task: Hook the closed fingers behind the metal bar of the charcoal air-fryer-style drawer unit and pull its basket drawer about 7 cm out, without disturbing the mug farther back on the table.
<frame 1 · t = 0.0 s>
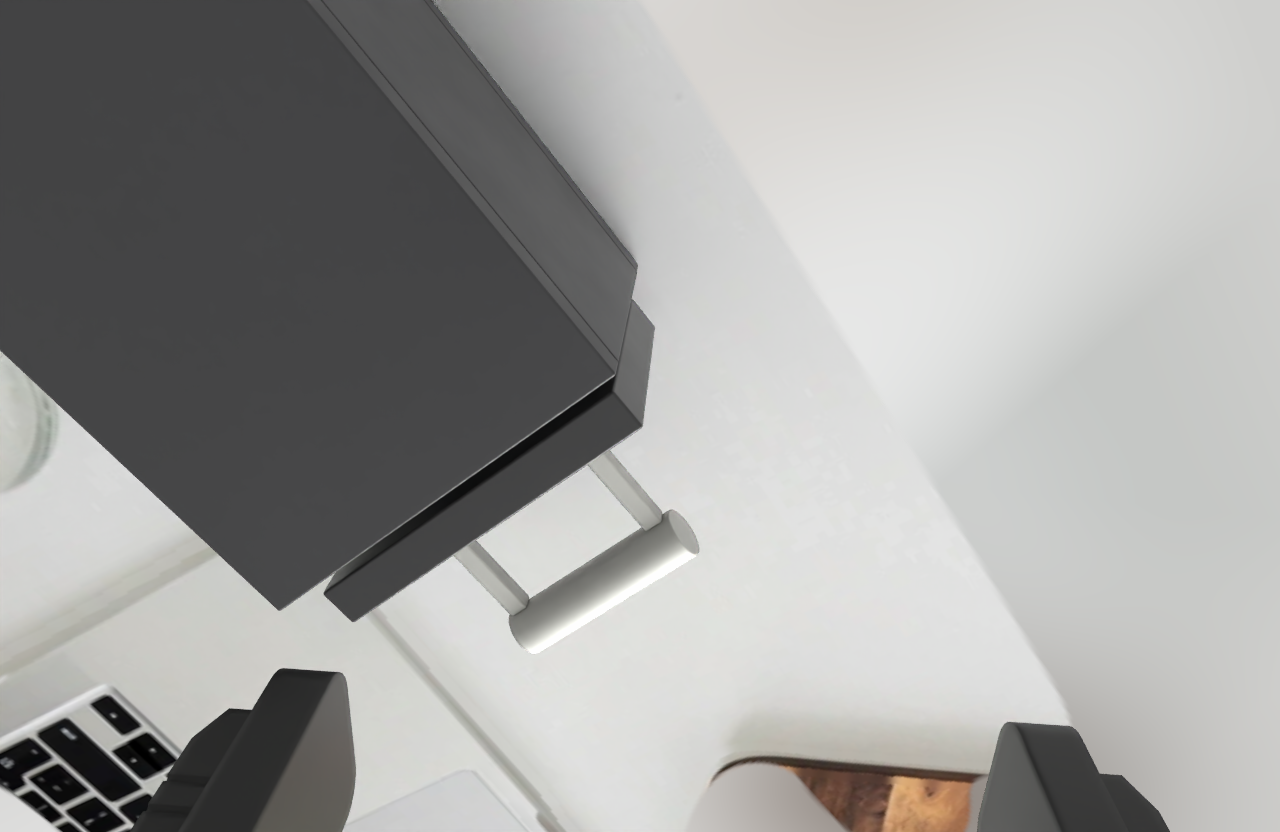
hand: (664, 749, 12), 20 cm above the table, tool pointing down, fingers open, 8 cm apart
basket: (426, 368, 27), point 5 cm above the table, slide at 0.5 cm
fryer: (359, 197, 30), on the table
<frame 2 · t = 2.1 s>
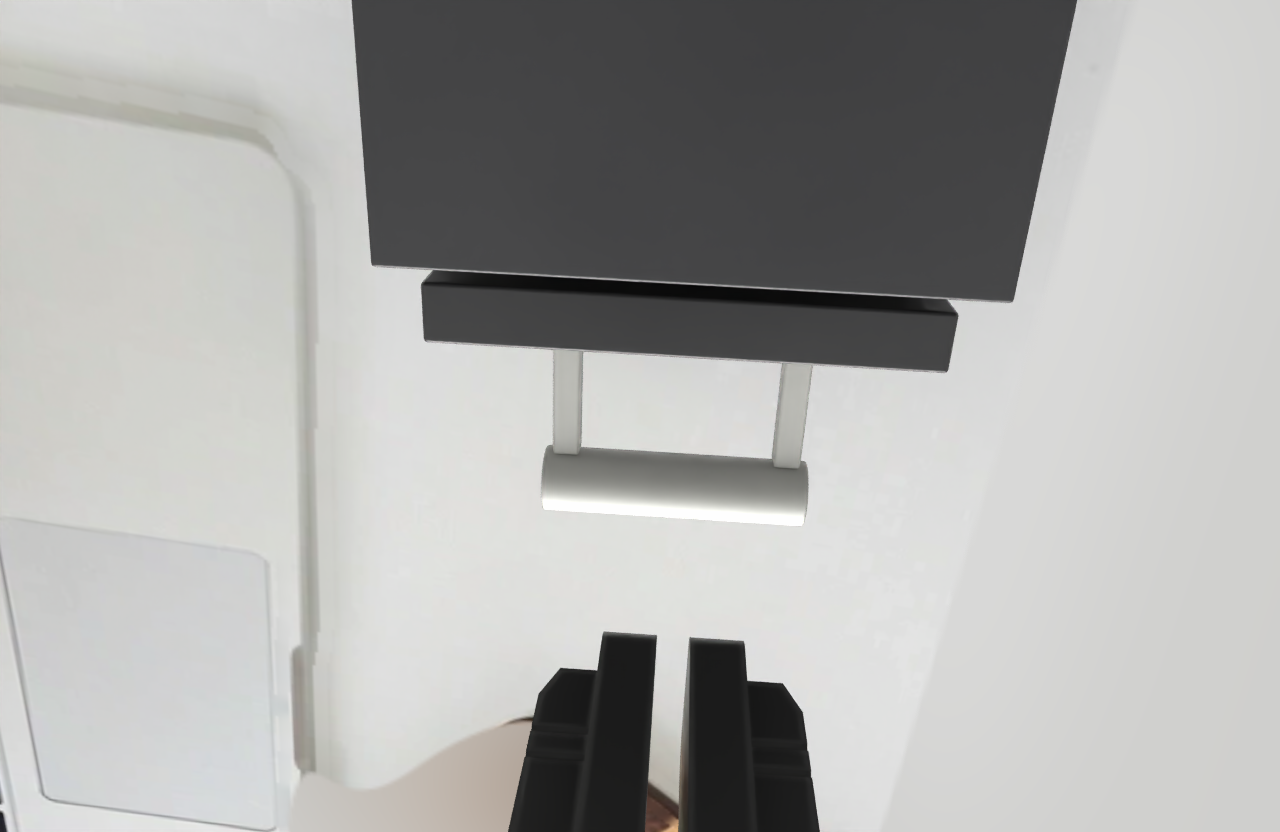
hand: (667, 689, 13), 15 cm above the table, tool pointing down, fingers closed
basket: (697, 124, 20), point 5 cm above the table, slide at 0.5 cm
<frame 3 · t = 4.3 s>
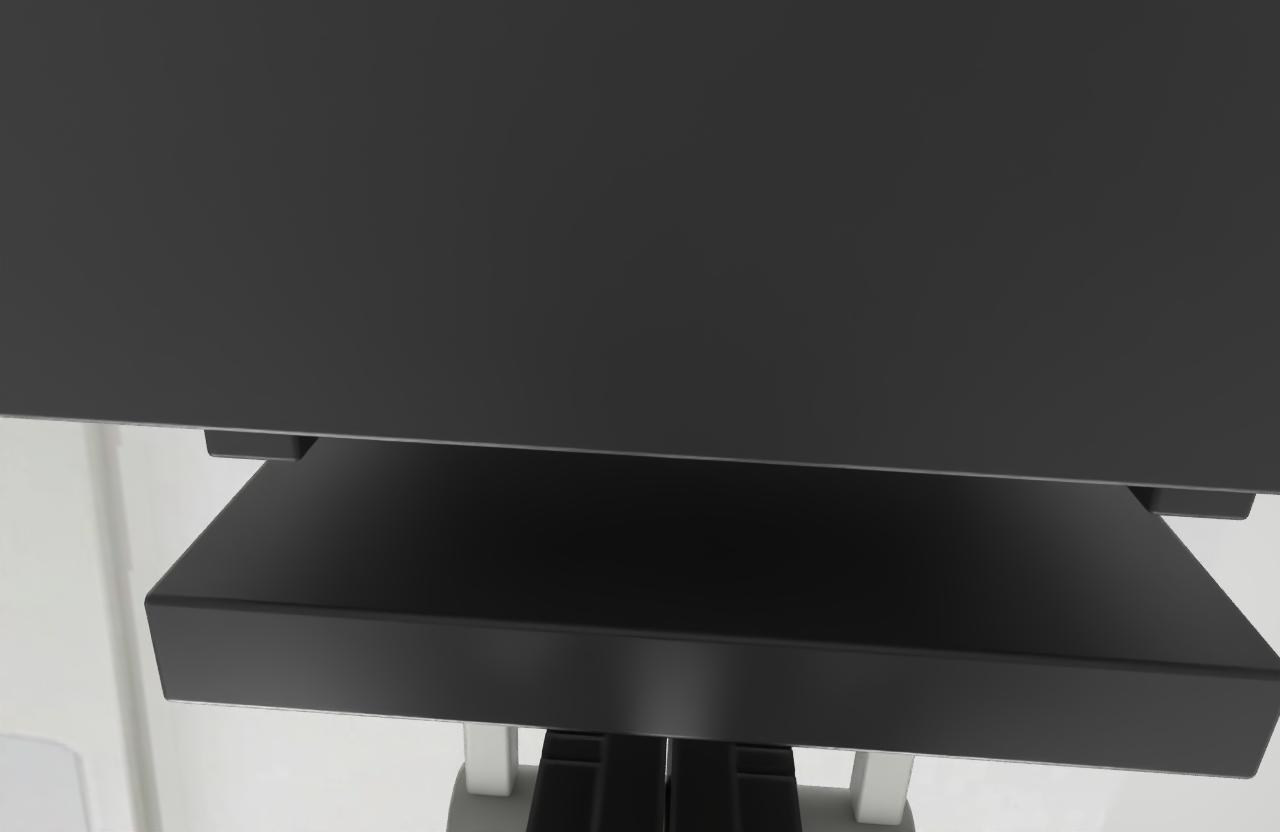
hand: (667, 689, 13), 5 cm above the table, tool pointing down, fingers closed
basket: (721, 233, 10), point 5 cm above the table, slide at 2.1 cm, touching gripper
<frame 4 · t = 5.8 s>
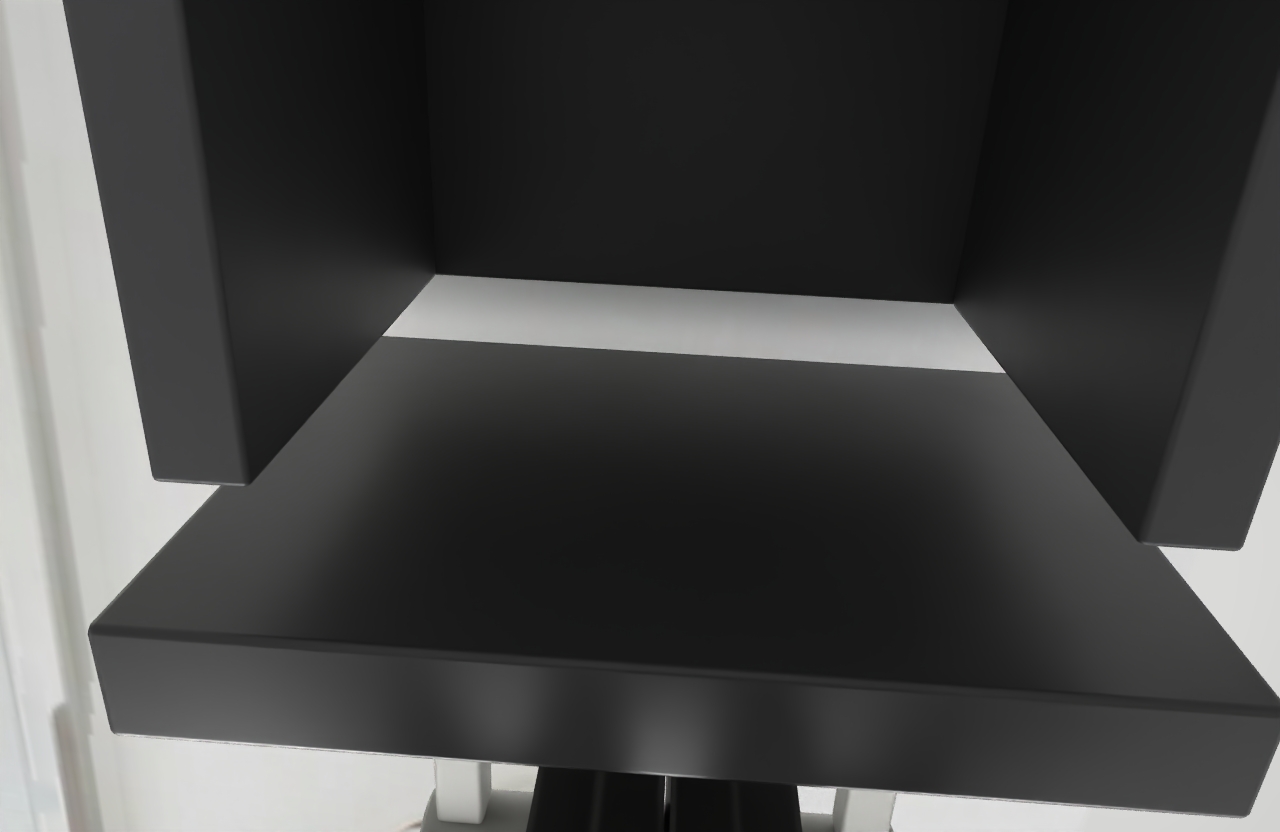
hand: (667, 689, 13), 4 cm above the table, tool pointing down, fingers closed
basket: (698, 245, 10), point 5 cm above the table, slide at 7.2 cm
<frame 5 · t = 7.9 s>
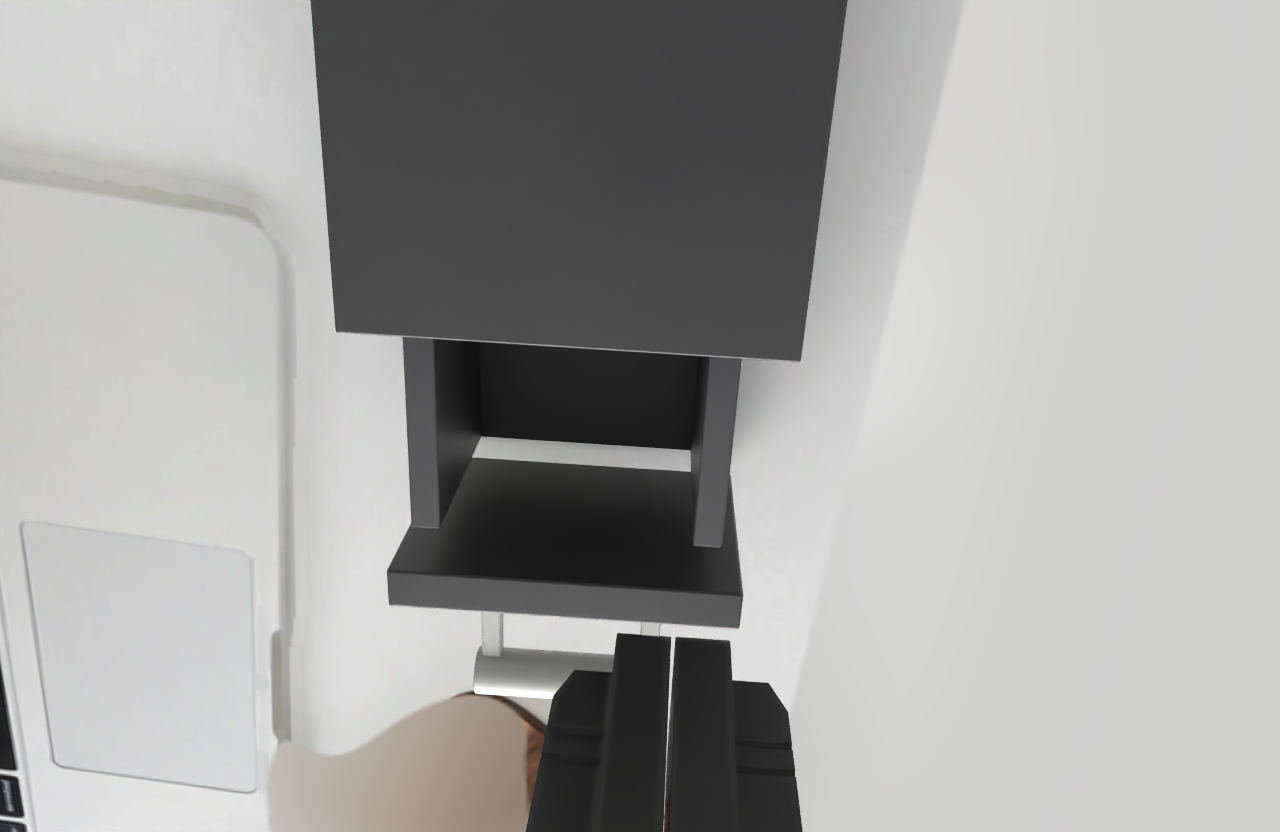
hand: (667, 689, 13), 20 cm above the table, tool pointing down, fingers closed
basket: (579, 441, 29), point 5 cm above the table, slide at 7.2 cm
fryer: (605, 27, 29), on the table
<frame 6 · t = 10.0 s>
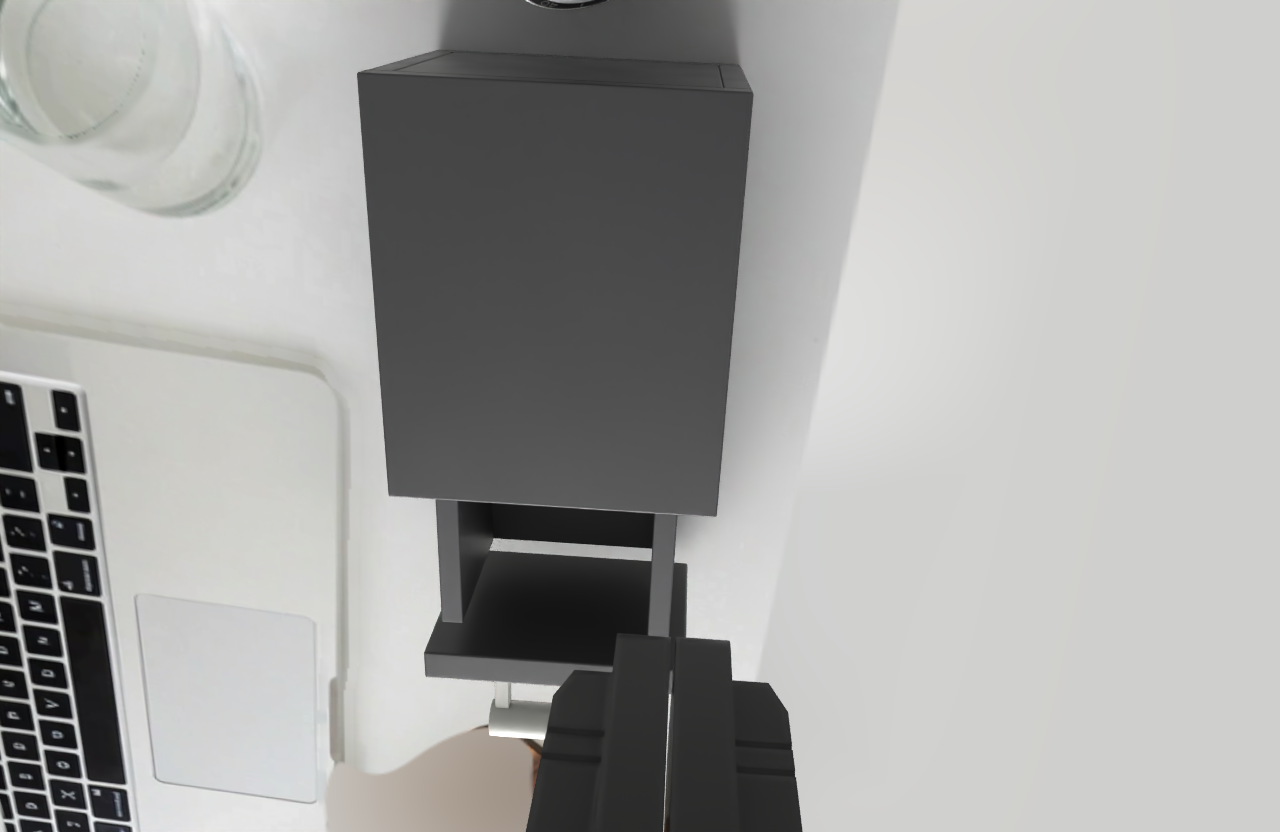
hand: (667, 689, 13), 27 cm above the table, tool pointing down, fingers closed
basket: (566, 550, 39), point 5 cm above the table, slide at 7.2 cm
fryer: (584, 241, 38), on the table
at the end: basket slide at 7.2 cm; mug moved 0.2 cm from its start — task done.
